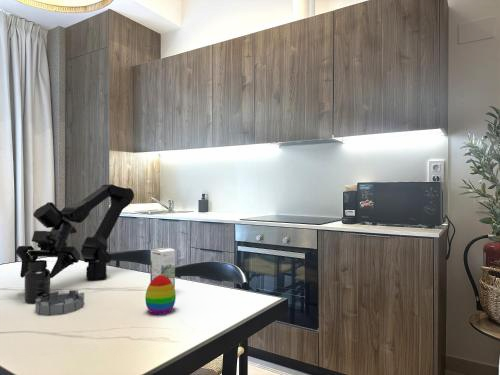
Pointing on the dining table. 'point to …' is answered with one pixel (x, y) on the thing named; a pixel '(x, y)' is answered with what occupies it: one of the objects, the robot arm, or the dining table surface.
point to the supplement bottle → (37, 281)
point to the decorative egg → (160, 295)
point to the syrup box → (163, 263)
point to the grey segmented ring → (69, 300)
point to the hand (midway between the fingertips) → (35, 277)
